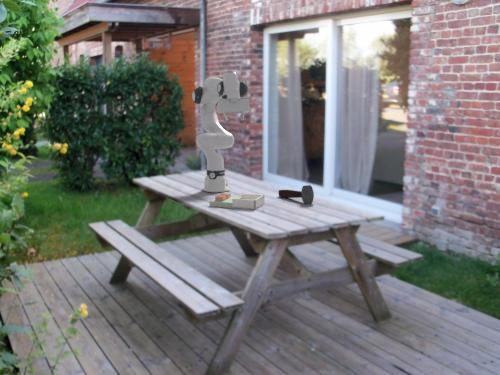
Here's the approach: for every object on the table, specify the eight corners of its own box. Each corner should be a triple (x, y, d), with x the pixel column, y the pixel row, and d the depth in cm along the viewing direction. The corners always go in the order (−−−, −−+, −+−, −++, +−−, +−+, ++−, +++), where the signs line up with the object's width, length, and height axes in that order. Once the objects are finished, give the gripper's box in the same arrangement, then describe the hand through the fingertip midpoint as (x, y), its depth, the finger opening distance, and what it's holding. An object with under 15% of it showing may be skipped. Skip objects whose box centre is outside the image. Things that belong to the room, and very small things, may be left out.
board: (220, 200, 359) (220, 195, 358) (242, 202, 355) (242, 197, 354) (209, 206, 342) (209, 201, 341) (232, 207, 338) (232, 202, 337)
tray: (242, 202, 355) (242, 193, 354) (264, 203, 350) (264, 194, 350) (232, 207, 338) (232, 198, 337) (255, 209, 334) (255, 200, 333)
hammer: (277, 202, 373) (308, 204, 348) (276, 185, 372) (306, 185, 347) (283, 201, 375) (314, 203, 351) (282, 184, 375) (313, 185, 350)
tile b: (218, 199, 348) (218, 195, 347) (226, 199, 346) (226, 195, 346) (215, 200, 343) (215, 196, 342) (223, 201, 341) (223, 197, 341)
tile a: (222, 196, 355) (222, 192, 355) (230, 197, 354) (230, 193, 353) (219, 198, 350) (219, 194, 350) (227, 198, 349) (227, 194, 348)
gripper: (247, 98, 356) (249, 121, 355) (215, 99, 349) (217, 121, 348) (250, 95, 350) (253, 118, 349) (217, 96, 344) (220, 119, 342)
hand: (234, 120), depth 348 cm, fingers open, 8 cm apart
